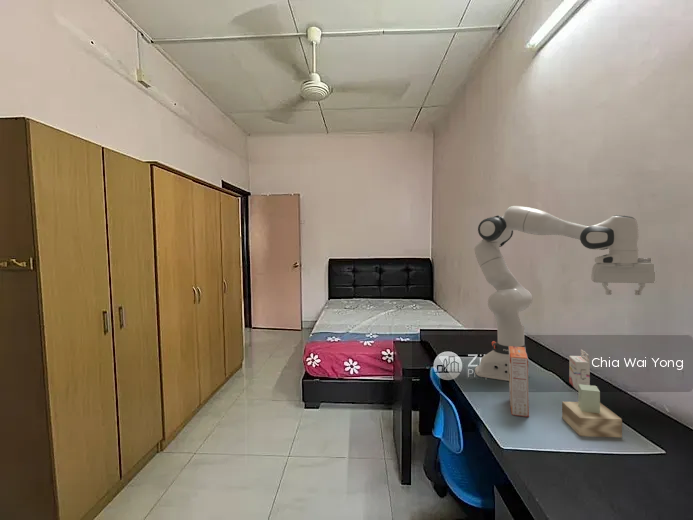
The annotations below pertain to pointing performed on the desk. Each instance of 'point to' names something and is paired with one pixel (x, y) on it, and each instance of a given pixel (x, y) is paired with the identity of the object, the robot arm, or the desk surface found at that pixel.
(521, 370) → the cracker box
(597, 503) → the desk surface
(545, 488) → the desk surface
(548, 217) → the robot arm
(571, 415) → the ash plinth
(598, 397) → the sage block
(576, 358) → the ink cartridge box
